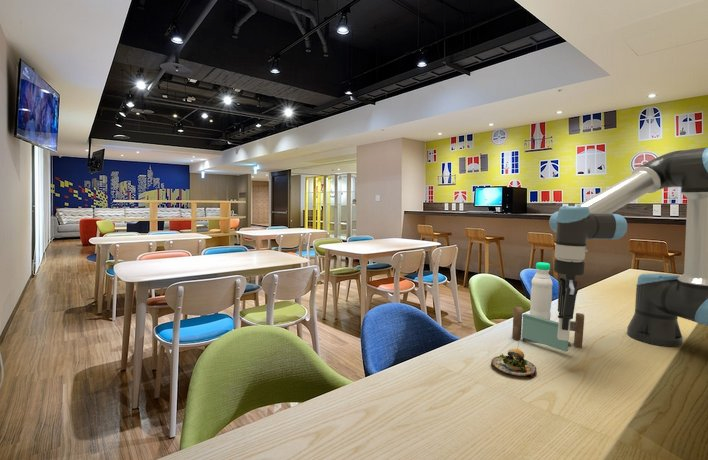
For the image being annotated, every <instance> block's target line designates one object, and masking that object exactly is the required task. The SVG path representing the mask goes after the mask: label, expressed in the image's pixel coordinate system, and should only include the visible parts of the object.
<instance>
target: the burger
mask: <svg viewBox="0 0 708 460" xmlns="http://www.w3.org/2000/svg"><path fill="white" fill-rule="evenodd" d="M519 344H520V343H518V345H517V346H520V345H519ZM490 364H491V366H494V367H495V368H496V369H498V370H499V371H501V372H503V373H506V374H508V375H513V376H523V377H524V376H529V375H531V376H530V379H534V377H537V376H536V375H537V367H536V365H535V364H533V363H532V362H530V361H529V360H527V359H525V353H524V352H523V351H522V350H520V349H519V347H517V348H511V349H509V350H508V351H507V355H504V354H503V353H501V354H499V356H495V357H493V358H492V359H491V361H490Z"/></svg>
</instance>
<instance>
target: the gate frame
mask: <svg viewBox="0 0 708 460" xmlns="http://www.w3.org/2000/svg"><path fill="white" fill-rule="evenodd" d="M523 309H524V308H523V307H521V306H513V317H512V334H511V339H513V340H514V341H523V342H529V343H538V342H535V341H532V340H529V339H526V338H523V337H522V323H523ZM584 326H585V314H584V313H580V312H576V313H575V321H573V320H570V331H571V332H574V336H573V347H574V348H578V349H583V340H584V330H585V329H584ZM538 344H539V343H538ZM571 347H572V343H571V342H570V341H568V348H571Z"/></svg>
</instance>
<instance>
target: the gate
mask: <svg viewBox="0 0 708 460" xmlns="http://www.w3.org/2000/svg"><path fill="white" fill-rule="evenodd" d="M558 323H559V321H555V320H551V319H550V320H548V319H544V318H540V317H537V316H533V315H530V313H529V314H528V313H526V312H525V313H522V330H521V338H522V337H523V338H526V339H529V340H532V341H535V342H534V343H536V342H538V344H541V345H545V346H548V347H550V348H553V349H557V350H559V351H563V352H568V351H569V347H568V342H569V341H565V340H558V338H557V335H558Z"/></svg>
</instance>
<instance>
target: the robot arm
mask: <svg viewBox="0 0 708 460" xmlns="http://www.w3.org/2000/svg"><path fill="white" fill-rule="evenodd" d="M667 188H681V189H680V193H681V194H682V195H683V196H684V197H685V198H686V199H687V200H686V202H687V203H686V219H685V221H686V222H685V242H684V243H685V244H684V247H685V248H684V267H683V273H682V274H681V275H679V274H673V273H641V274H640V275H639V276H638V277H637V282H636V289H635V290H636V291H635V304H634V306H635V307H634V314H633V316H632V318H631V319H630V320H629V321H630V322H629V324H628V325H627V329H626V334H627V335H628V336H629V337H630V338H632V339H635V340H637V341H640V342H643V343H646V344H650V345H651V344H652V345H657V346H663V347H680V346H682V345H683V340H684V338H683V334H682V331H681V328H680V325H679V322H678V317H679V318H680V319H681V318H682V319H684V320H688V321H691V322H694V323H696V324H698V325H704V326H708V147H698V148H693V149H692V148H691V149H683V150H681V149H679V150H674V151H671V152H670V151H669V152H668V153H665V154H662V155H660V156H658V157H655V158H653V159H651V160H649V161H647V162H645V163H644V164H641V165H640V166H638V167H636V168H635V169H634V170H633V171H632V173H631V174H630V175H628V176H626V177H625V178H623V179H621V180H619V181H618V182H616V183H614V184H612V185H611V186H609V187H607V188H605V189H603V190H602V191H600V192H598V193H596V194H595V195H593V196H592V197H591V196H590V197H589V198H587V199H586V200H583V202H581V203H578V204H577V205H562V206H560V207H559V208H558V211H554V212H553V213H552V214H551V216H550V217H549V221H548V223H549V224H548V225H549V227H550V230H551V231H553V232H554V233H556V235H555V237H556V239H555V245H554V248H555V249H554V258H555V259H554V261H553V272H555V273H557V274H559V275H560V277H559V278H558V280H557V283H558V285H557V286H558V292H557V293H558V294H557V312H558V315H557V319H558V322H559V323H558V335H557V338H558V340H565V341H568V342H570V321H572V320H573V319H574V313H575V305H576V299H577V294H578V291H579V289H578V288H577V285H578V281H577V280H576V276H583V275H584V273H585V262H584V260H585V258H586V253H588V251H589V250H588V249H587V241H588V240H608V241H611V240H619V239H621V238H623V237H624V236H625V235H626V234H627V232H628V221H627V219H626V218H625V217H624V216H623V215H621V214H618V213H614V212H616V211H617V210H619V209H621V208H623V207H625V206H626V205H628V204H630V203H632V202H634V201H635V200H637V199H639V198H641V197H642V196H644V195H646V194H653V193H657V192H658V191H660V190H663V189H667Z"/></svg>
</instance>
